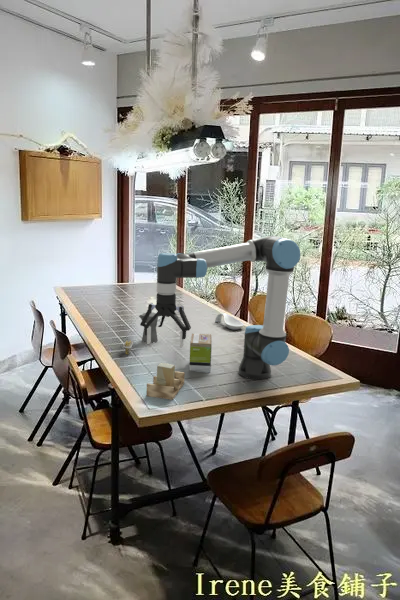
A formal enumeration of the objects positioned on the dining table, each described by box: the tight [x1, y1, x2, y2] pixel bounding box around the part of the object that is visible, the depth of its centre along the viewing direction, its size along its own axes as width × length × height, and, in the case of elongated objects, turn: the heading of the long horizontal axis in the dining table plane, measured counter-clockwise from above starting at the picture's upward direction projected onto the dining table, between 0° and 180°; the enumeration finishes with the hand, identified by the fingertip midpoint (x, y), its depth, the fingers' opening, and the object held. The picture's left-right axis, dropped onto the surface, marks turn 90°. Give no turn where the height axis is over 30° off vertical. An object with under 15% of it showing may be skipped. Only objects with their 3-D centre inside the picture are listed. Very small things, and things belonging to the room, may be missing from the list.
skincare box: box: [156, 362, 176, 387], centre depth 190 cm, size 6×4×12 cm
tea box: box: [188, 333, 213, 374], centre depth 223 cm, size 15×10×15 cm, turn 178°
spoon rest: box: [214, 312, 245, 331], centre depth 297 cm, size 24×12×7 cm, turn 34°
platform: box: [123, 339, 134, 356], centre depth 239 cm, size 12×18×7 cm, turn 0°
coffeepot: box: [138, 310, 166, 344], centre depth 259 cm, size 15×9×18 cm, turn 118°
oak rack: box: [146, 370, 186, 401], centre depth 194 cm, size 11×17×6 cm, turn 167°
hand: (165, 344), depth 188 cm, fingers open, 13 cm apart
